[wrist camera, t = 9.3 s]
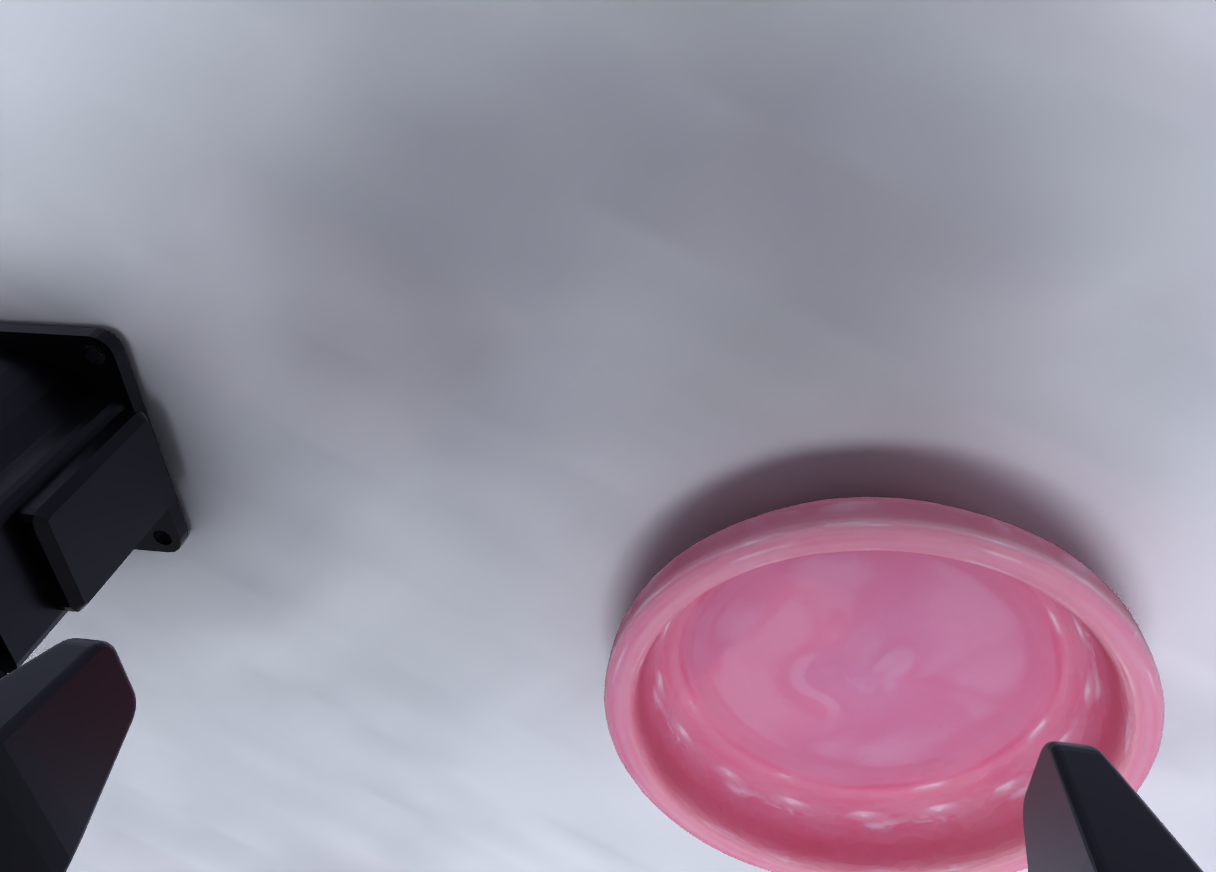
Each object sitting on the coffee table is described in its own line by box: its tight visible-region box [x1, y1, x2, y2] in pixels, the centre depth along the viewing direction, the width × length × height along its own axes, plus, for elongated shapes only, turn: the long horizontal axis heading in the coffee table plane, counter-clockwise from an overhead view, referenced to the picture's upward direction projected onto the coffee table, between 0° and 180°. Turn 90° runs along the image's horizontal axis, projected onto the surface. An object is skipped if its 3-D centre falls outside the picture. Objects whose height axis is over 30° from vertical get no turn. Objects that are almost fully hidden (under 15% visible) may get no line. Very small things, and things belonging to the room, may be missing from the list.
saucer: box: [604, 497, 1164, 872], centre depth 23 cm, size 12×12×3 cm
